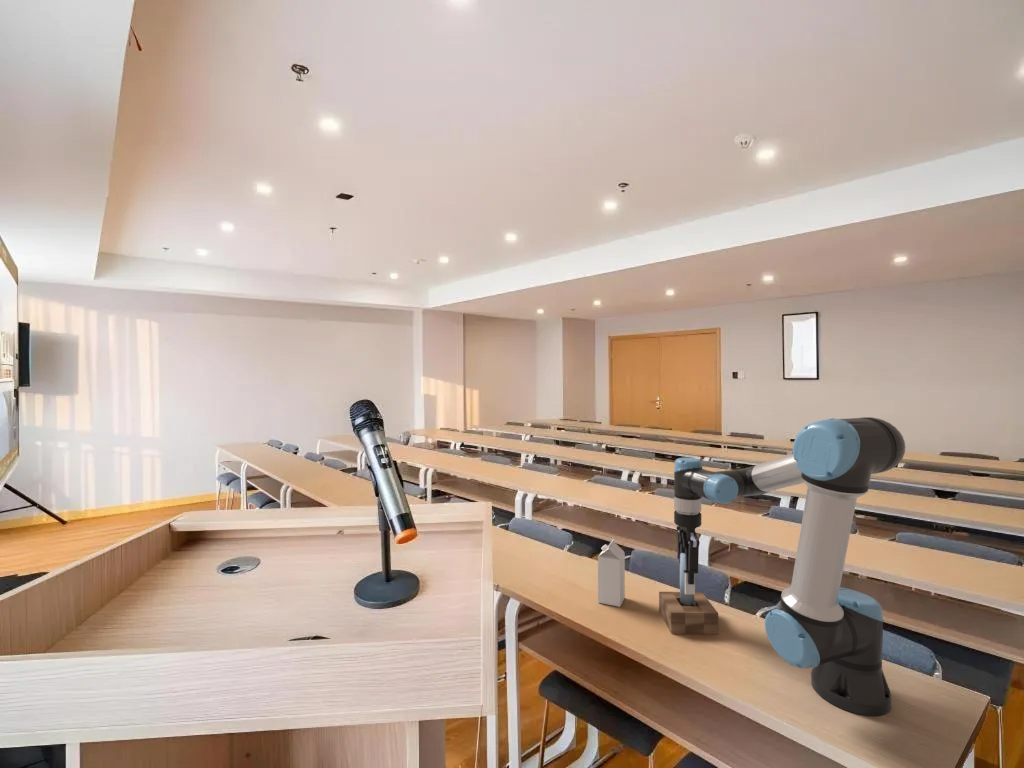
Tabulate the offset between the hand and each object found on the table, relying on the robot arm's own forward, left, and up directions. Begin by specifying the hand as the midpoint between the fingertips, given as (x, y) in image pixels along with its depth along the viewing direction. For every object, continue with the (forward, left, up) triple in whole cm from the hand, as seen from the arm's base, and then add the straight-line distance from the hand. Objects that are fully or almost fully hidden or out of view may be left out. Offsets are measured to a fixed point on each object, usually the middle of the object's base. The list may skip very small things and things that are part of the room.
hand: (687, 590), depth 144 cm
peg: (0, 0, -4) cm, 4 cm away
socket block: (0, 0, -10) cm, 10 cm away
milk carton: (+13, +20, -10) cm, 26 cm away
